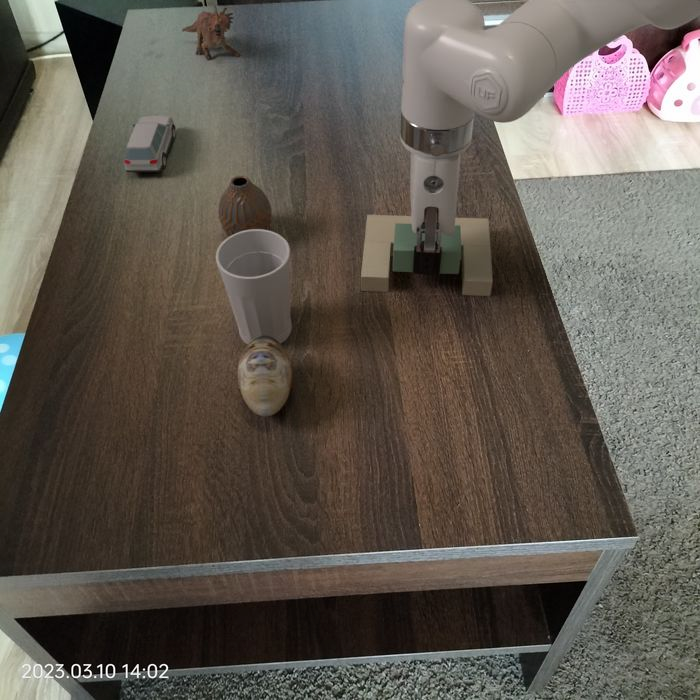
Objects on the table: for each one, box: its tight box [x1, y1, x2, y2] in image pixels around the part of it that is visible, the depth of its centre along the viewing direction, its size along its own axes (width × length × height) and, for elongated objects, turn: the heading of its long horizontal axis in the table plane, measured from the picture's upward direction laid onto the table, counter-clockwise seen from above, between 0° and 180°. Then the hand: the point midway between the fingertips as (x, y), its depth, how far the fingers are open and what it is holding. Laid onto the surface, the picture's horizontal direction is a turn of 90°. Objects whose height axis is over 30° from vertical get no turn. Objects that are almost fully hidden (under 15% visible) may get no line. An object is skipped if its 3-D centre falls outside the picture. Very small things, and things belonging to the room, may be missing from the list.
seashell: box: [237, 335, 293, 417], centre depth 77 cm, size 10×6×8 cm, turn 4°
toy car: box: [123, 114, 176, 173], centre depth 110 cm, size 6×13×5 cm, turn 178°
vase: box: [218, 175, 273, 237], centre depth 95 cm, size 7×7×9 cm
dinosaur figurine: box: [181, 5, 241, 61], centre depth 129 cm, size 14×6×9 cm, turn 42°
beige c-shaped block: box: [360, 214, 494, 297], centre depth 93 cm, size 16×12×2 cm
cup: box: [215, 229, 293, 345], centre depth 83 cm, size 8×8×12 cm
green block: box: [392, 223, 461, 275], centre depth 89 cm, size 8×5×4 cm, turn 85°
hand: (426, 255), depth 90 cm, fingers closed on green block, 5 cm apart
